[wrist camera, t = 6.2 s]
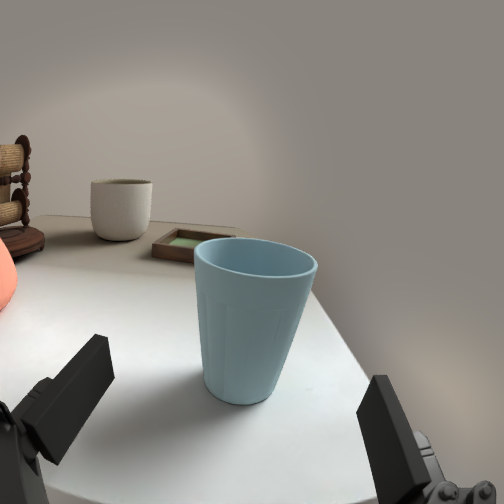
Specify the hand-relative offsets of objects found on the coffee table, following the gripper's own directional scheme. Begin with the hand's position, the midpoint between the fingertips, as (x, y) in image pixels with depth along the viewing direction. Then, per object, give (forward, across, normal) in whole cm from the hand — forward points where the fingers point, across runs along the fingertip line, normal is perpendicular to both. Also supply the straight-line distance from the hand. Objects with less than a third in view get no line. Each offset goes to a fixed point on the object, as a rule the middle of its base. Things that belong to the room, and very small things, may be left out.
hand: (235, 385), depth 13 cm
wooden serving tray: (+38, -11, -6) cm, 40 cm away
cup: (+7, 0, -6) cm, 9 cm away
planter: (+41, -28, -6) cm, 50 cm away
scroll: (+22, -42, -6) cm, 48 cm away
